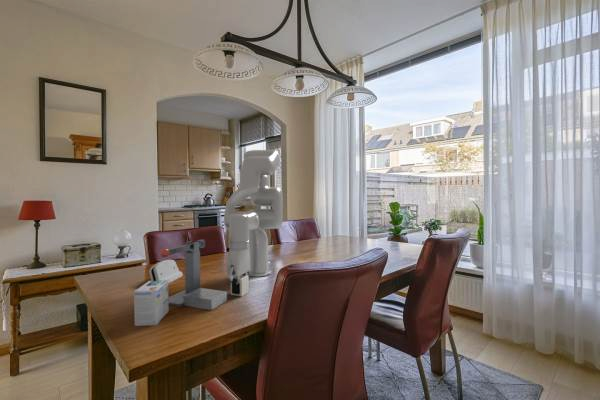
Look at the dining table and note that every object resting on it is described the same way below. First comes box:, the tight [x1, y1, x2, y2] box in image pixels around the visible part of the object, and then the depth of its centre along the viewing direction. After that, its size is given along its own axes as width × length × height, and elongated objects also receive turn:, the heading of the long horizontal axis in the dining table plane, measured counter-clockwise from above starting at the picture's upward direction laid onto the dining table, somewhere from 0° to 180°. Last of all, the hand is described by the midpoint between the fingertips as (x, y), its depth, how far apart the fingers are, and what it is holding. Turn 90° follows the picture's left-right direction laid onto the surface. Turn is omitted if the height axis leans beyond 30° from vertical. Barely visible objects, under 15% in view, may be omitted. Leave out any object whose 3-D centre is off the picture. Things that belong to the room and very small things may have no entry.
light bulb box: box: [133, 280, 170, 327], centre depth 95 cm, size 11×7×11 cm, turn 5°
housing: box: [230, 275, 250, 297], centre depth 118 cm, size 5×5×8 cm
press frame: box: [168, 240, 228, 311], centre depth 112 cm, size 17×21×20 cm
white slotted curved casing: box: [148, 259, 184, 284], centre depth 136 cm, size 17×5×10 cm, turn 172°
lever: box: [159, 239, 206, 258], centre depth 115 cm, size 23×3×3 cm, turn 160°
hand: (239, 290), depth 118 cm, fingers closed on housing, 5 cm apart
